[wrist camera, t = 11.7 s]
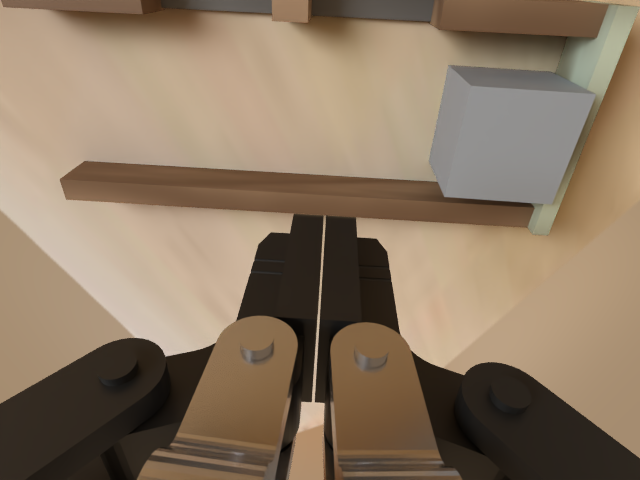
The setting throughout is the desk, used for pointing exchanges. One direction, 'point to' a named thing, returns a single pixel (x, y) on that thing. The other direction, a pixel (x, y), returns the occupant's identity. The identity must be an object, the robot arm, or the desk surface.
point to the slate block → (506, 133)
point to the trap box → (353, 192)
